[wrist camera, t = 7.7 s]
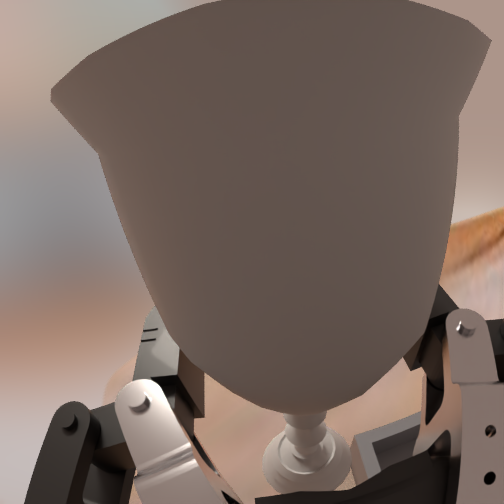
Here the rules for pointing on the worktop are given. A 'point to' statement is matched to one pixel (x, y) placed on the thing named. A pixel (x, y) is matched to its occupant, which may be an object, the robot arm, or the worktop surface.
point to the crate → (383, 447)
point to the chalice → (285, 192)
